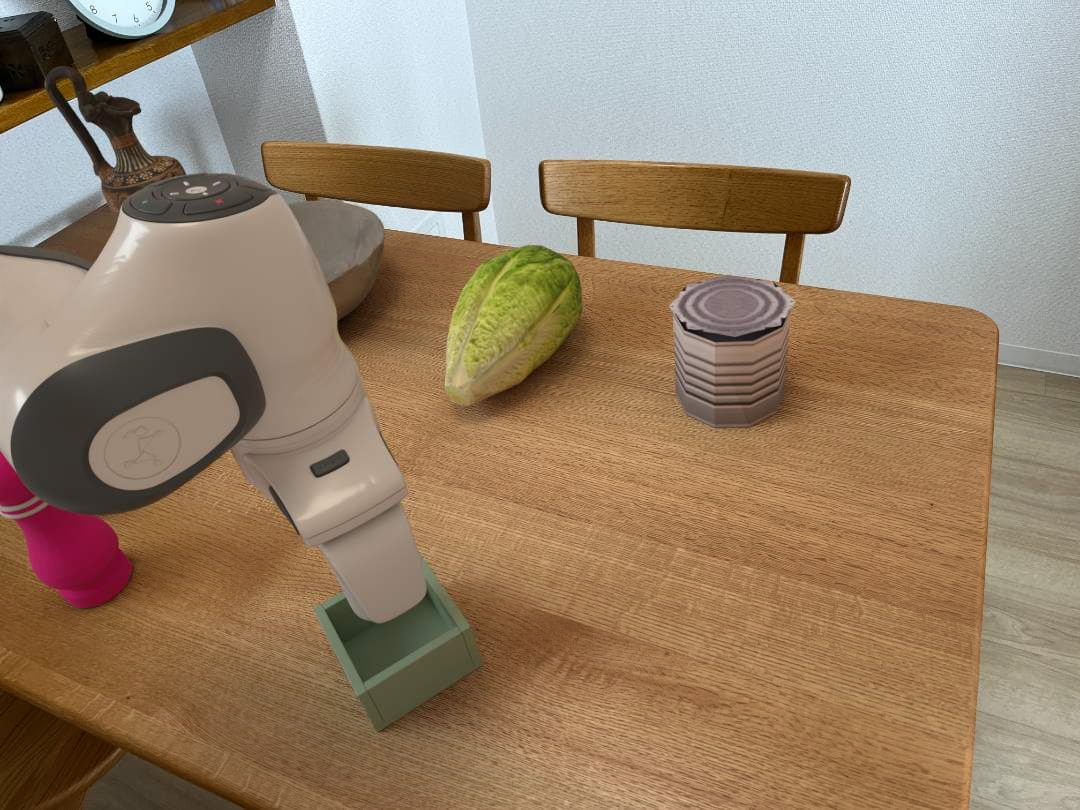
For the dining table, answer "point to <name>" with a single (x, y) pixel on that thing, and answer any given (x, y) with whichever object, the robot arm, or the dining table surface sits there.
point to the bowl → (343, 247)
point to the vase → (111, 139)
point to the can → (731, 349)
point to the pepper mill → (65, 545)
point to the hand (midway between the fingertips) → (364, 562)
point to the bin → (401, 651)
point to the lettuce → (509, 321)
